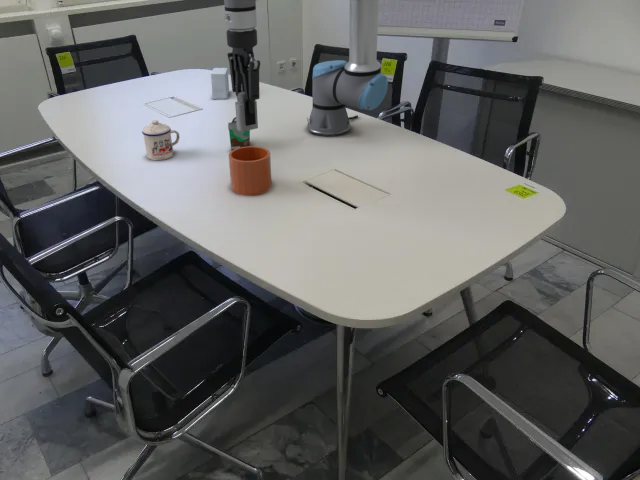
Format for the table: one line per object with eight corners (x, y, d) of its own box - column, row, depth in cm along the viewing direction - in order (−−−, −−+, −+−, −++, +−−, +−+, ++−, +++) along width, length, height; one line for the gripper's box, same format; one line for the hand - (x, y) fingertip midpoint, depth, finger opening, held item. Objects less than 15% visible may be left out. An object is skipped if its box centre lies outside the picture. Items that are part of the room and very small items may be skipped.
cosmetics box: (227, 99, 227) (225, 73, 221) (212, 99, 227) (210, 73, 221) (229, 92, 235) (227, 67, 230) (215, 92, 236) (212, 67, 230)
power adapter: (236, 128, 146) (232, 83, 139) (253, 124, 148) (251, 80, 141) (241, 132, 143) (238, 86, 137) (258, 128, 146) (256, 82, 139)
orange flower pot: (259, 174, 162) (257, 143, 156) (278, 188, 154) (277, 155, 148) (224, 184, 157) (221, 151, 151) (243, 199, 149) (240, 165, 143)
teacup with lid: (152, 163, 172) (146, 127, 165) (142, 154, 178) (136, 120, 171) (187, 154, 177) (182, 119, 170) (175, 146, 183) (170, 112, 177)
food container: (248, 153, 176) (246, 124, 170) (230, 152, 177) (227, 123, 171) (256, 140, 186) (255, 111, 180) (239, 139, 187) (237, 111, 181)
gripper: (213, 25, 136) (221, 117, 149) (243, 35, 124) (249, 134, 137) (239, 22, 139) (245, 112, 152) (271, 31, 127) (274, 128, 140)
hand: (247, 122), depth 145 cm, fingers closed on power adapter, 3 cm apart
